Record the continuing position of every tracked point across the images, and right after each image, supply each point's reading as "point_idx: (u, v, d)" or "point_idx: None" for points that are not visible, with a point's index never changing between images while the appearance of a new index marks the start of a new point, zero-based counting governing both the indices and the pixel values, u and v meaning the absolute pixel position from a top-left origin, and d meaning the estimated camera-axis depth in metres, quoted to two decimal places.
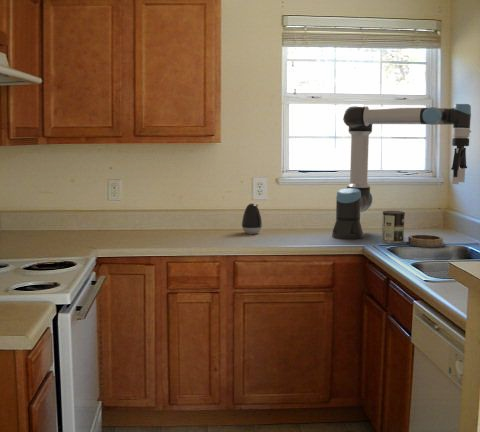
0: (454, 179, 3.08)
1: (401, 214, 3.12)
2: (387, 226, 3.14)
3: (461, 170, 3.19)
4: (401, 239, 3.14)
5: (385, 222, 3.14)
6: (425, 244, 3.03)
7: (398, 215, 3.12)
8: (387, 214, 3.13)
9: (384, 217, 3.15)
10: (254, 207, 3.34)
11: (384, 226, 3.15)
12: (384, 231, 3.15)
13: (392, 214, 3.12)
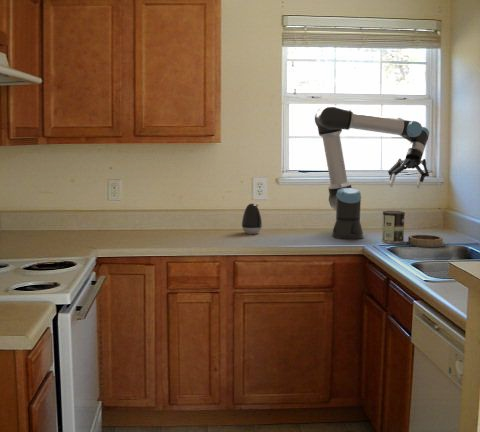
0: (419, 181, 3.22)
1: (401, 214, 3.12)
2: (387, 226, 3.14)
3: (394, 176, 3.31)
4: (401, 239, 3.14)
5: (385, 222, 3.14)
6: (425, 244, 3.03)
7: (398, 215, 3.12)
8: (387, 214, 3.13)
9: (384, 217, 3.15)
10: (254, 207, 3.34)
11: (384, 226, 3.15)
12: (384, 231, 3.15)
13: (392, 214, 3.12)
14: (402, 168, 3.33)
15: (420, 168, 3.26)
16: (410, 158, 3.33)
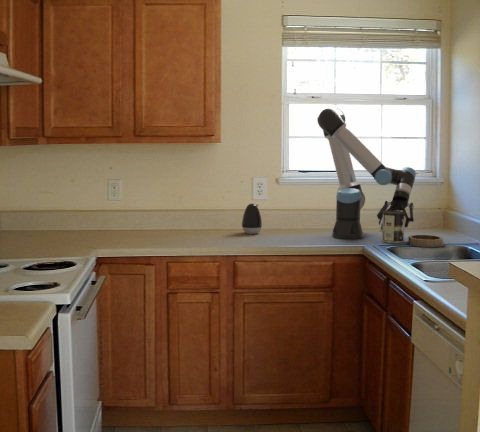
0: (404, 227, 3.13)
1: (401, 214, 3.12)
2: (387, 226, 3.14)
3: None
4: (401, 239, 3.14)
5: (385, 222, 3.14)
6: (425, 244, 3.03)
7: (398, 215, 3.12)
8: (387, 214, 3.13)
9: (384, 217, 3.15)
10: (254, 207, 3.34)
11: (384, 226, 3.15)
12: (384, 231, 3.15)
13: (392, 214, 3.12)
14: None
15: None
16: (397, 200, 3.24)
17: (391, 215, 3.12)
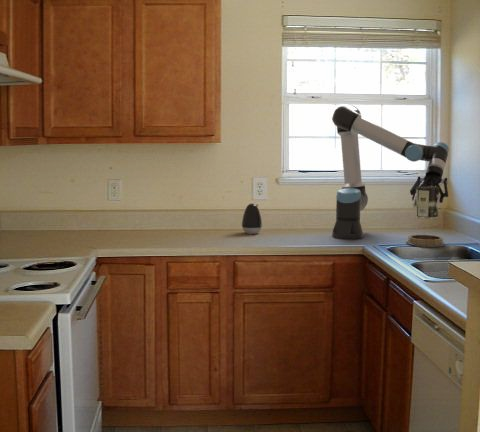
0: (438, 202, 3.04)
1: (436, 189, 3.03)
2: (421, 201, 3.05)
3: None
4: (436, 215, 3.05)
5: (419, 197, 3.05)
6: (425, 244, 3.03)
7: (433, 190, 3.02)
8: (421, 189, 3.04)
9: (418, 192, 3.06)
10: (254, 207, 3.34)
11: (418, 202, 3.06)
12: (418, 207, 3.06)
13: (426, 189, 3.02)
14: None
15: (440, 187, 3.08)
16: (430, 175, 3.14)
17: (426, 190, 3.03)
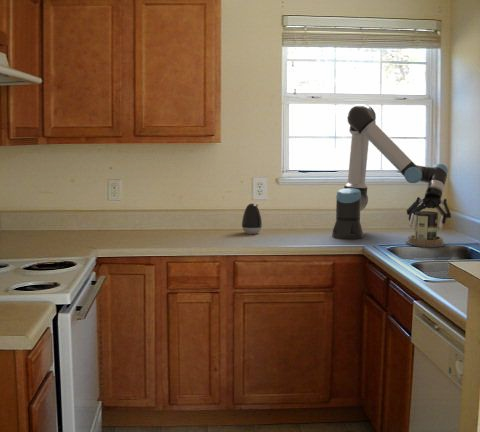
0: (441, 223, 3.05)
1: (434, 215, 3.05)
2: (420, 227, 3.06)
3: (413, 216, 3.13)
4: None
5: (418, 223, 3.07)
6: (425, 244, 3.03)
7: (431, 216, 3.04)
8: (420, 215, 3.05)
9: (417, 218, 3.07)
10: (254, 207, 3.34)
11: (417, 227, 3.08)
12: (417, 232, 3.08)
13: (425, 215, 3.04)
14: (421, 207, 3.15)
15: (441, 209, 3.09)
16: (430, 197, 3.16)
17: (424, 216, 3.04)
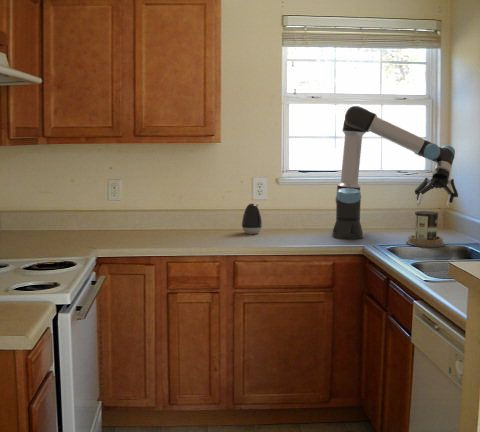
0: (448, 202, 3.14)
1: (435, 215, 3.05)
2: (420, 227, 3.06)
3: (421, 196, 3.22)
4: None
5: (418, 223, 3.07)
6: (425, 244, 3.03)
7: (431, 216, 3.04)
8: (420, 215, 3.05)
9: (417, 218, 3.07)
10: (254, 207, 3.34)
11: (417, 227, 3.08)
12: (417, 232, 3.08)
13: (425, 215, 3.04)
14: (429, 187, 3.24)
15: None
16: (437, 177, 3.25)
17: (424, 216, 3.04)
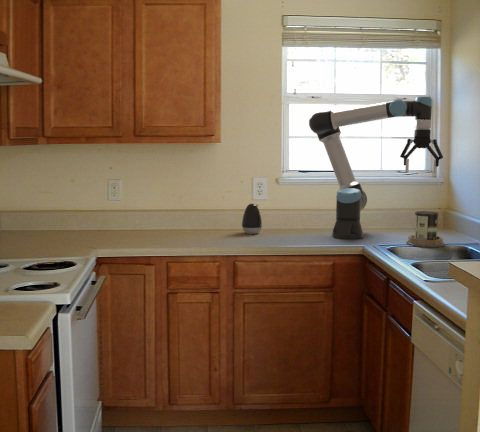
0: (435, 168, 3.23)
1: (435, 215, 3.05)
2: (420, 227, 3.06)
3: (408, 160, 3.29)
4: None
5: (418, 223, 3.07)
6: (425, 244, 3.03)
7: (431, 216, 3.04)
8: (420, 215, 3.05)
9: (417, 218, 3.07)
10: (254, 207, 3.34)
11: (417, 227, 3.08)
12: (417, 232, 3.08)
13: (425, 215, 3.04)
14: (413, 150, 3.27)
15: (433, 152, 3.22)
16: (419, 138, 3.24)
17: (424, 216, 3.04)
